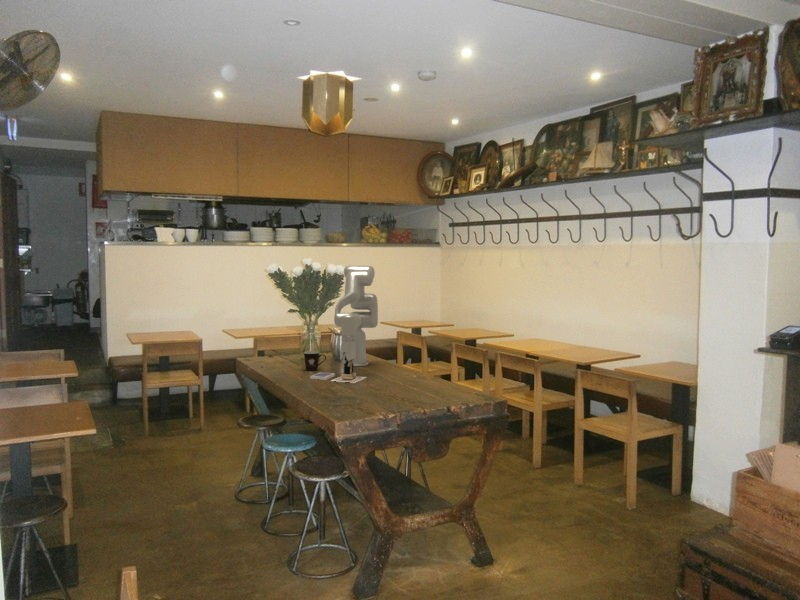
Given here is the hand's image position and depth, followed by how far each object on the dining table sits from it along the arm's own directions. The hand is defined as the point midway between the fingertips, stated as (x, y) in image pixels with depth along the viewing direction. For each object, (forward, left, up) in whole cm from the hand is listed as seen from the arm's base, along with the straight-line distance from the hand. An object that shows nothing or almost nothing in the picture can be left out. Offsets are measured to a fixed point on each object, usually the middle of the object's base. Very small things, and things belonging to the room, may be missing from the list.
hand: (348, 372), depth 325 cm
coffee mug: (-16, -29, -4) cm, 33 cm away
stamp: (0, 0, -3) cm, 3 cm away
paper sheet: (0, 0, -4) cm, 4 cm away
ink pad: (0, -15, -4) cm, 15 cm away
